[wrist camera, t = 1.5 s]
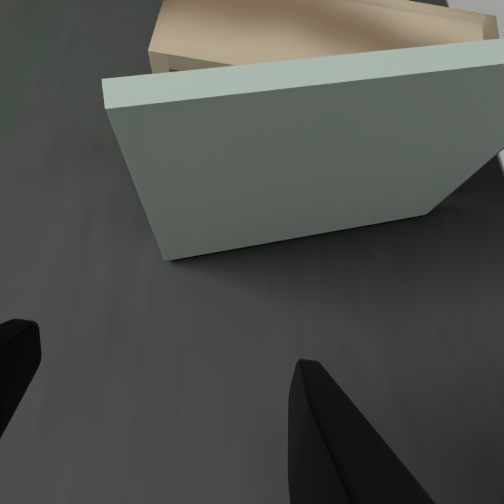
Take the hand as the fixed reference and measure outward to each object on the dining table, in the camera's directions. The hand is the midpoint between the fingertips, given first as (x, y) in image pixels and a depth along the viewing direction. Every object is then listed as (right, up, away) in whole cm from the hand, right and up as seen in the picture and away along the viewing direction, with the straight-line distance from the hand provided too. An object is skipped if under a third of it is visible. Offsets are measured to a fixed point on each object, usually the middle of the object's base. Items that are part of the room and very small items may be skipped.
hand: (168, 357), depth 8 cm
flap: (+5, +4, +15) cm, 16 cm away
